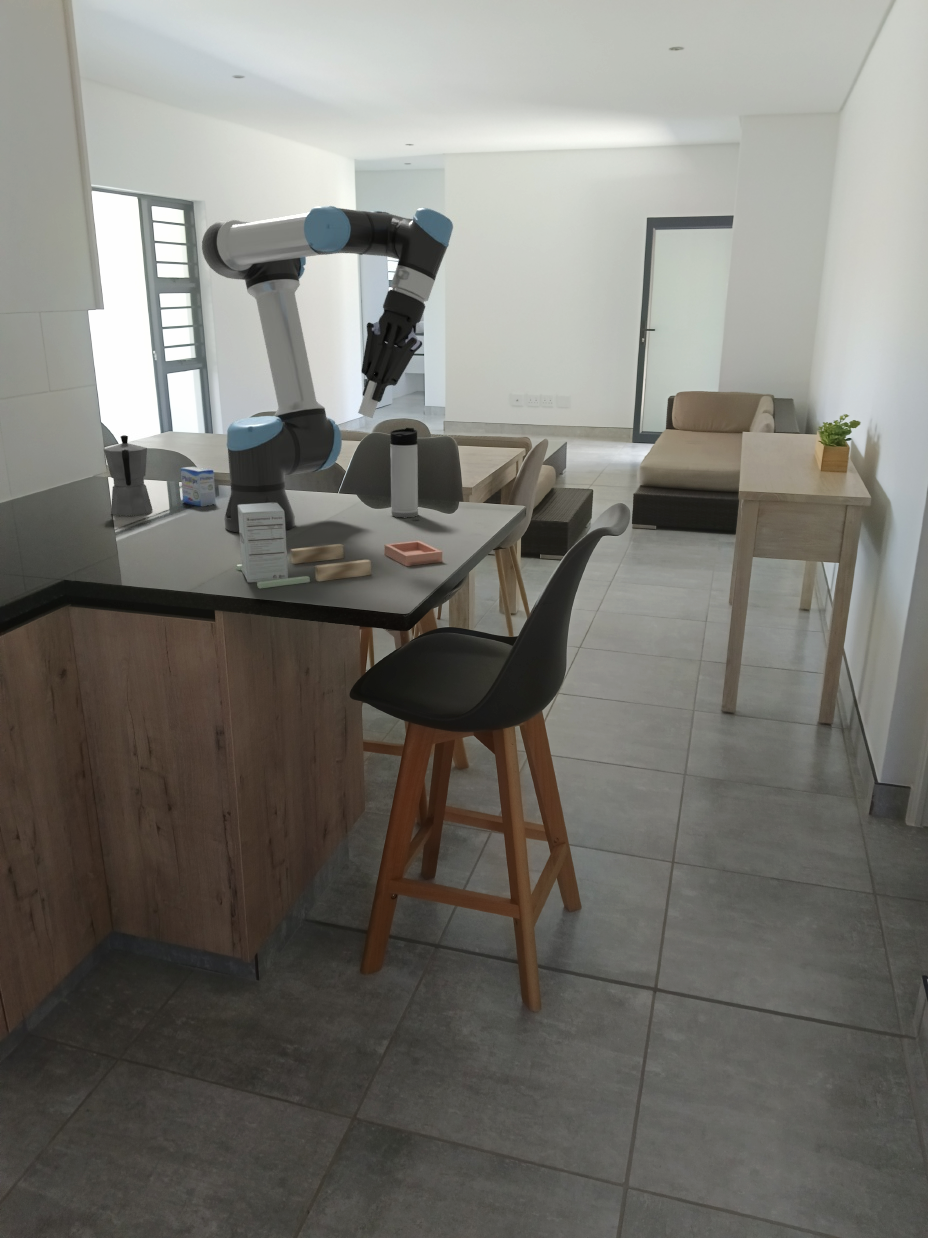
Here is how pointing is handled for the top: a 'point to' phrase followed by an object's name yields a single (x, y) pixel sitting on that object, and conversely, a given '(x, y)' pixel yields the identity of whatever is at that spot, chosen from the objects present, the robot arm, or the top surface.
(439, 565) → the top surface
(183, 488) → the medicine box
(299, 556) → the channel
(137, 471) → the coffeepot
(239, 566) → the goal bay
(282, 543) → the supplement box
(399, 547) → the pit tray
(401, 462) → the travel mug
